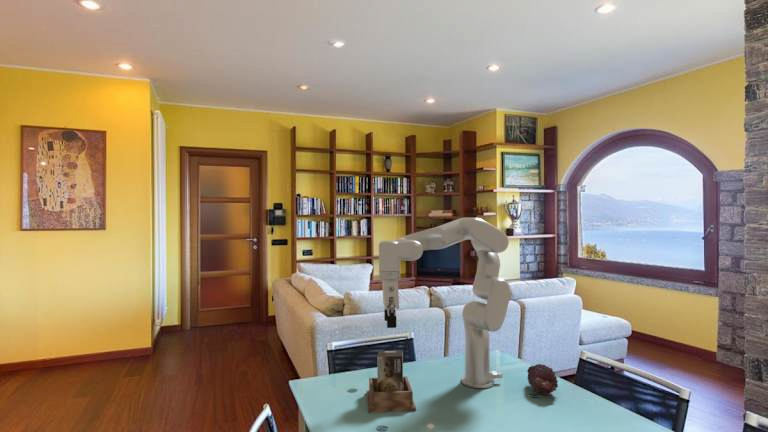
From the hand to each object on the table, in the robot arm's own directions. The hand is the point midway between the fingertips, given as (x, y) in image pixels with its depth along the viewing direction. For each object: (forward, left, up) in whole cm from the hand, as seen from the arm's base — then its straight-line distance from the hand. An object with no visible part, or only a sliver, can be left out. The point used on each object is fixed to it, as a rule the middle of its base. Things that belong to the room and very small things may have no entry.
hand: (390, 324), depth 149 cm
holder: (0, 0, -27) cm, 27 cm away
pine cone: (-57, -3, -28) cm, 63 cm away
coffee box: (0, 0, -27) cm, 27 cm away
